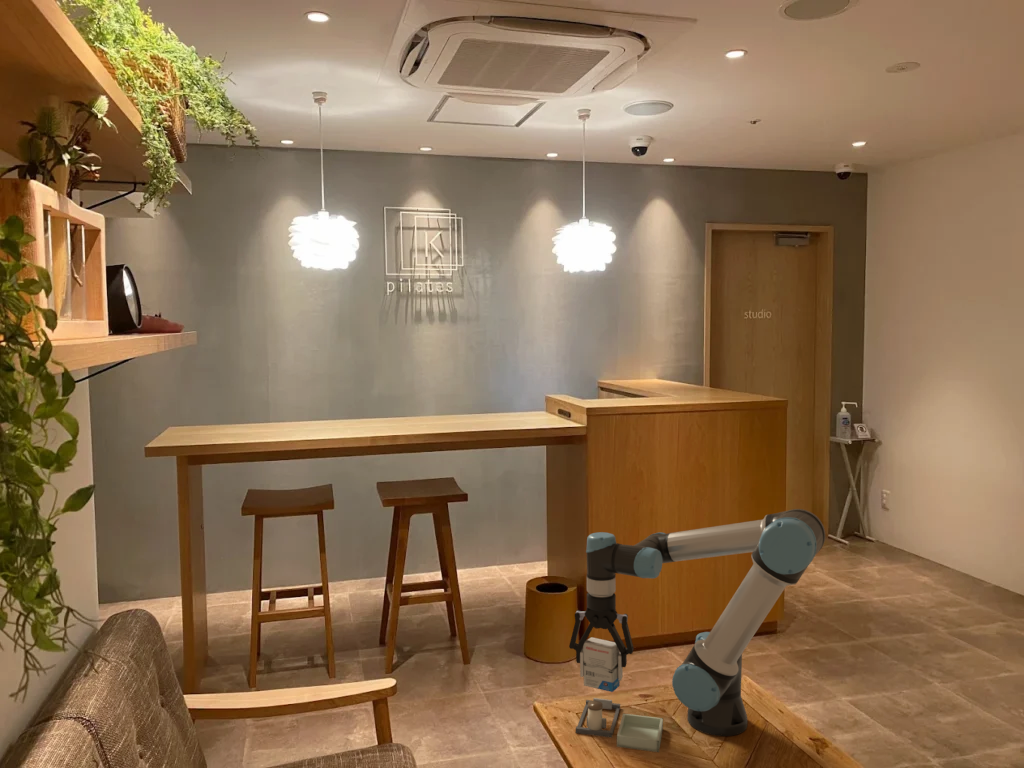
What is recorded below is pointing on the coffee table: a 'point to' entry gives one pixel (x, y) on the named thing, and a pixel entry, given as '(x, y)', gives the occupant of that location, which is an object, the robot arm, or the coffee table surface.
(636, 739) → the tray
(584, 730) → the rail
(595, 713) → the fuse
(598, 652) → the ink box
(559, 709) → the coffee table surface
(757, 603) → the robot arm
